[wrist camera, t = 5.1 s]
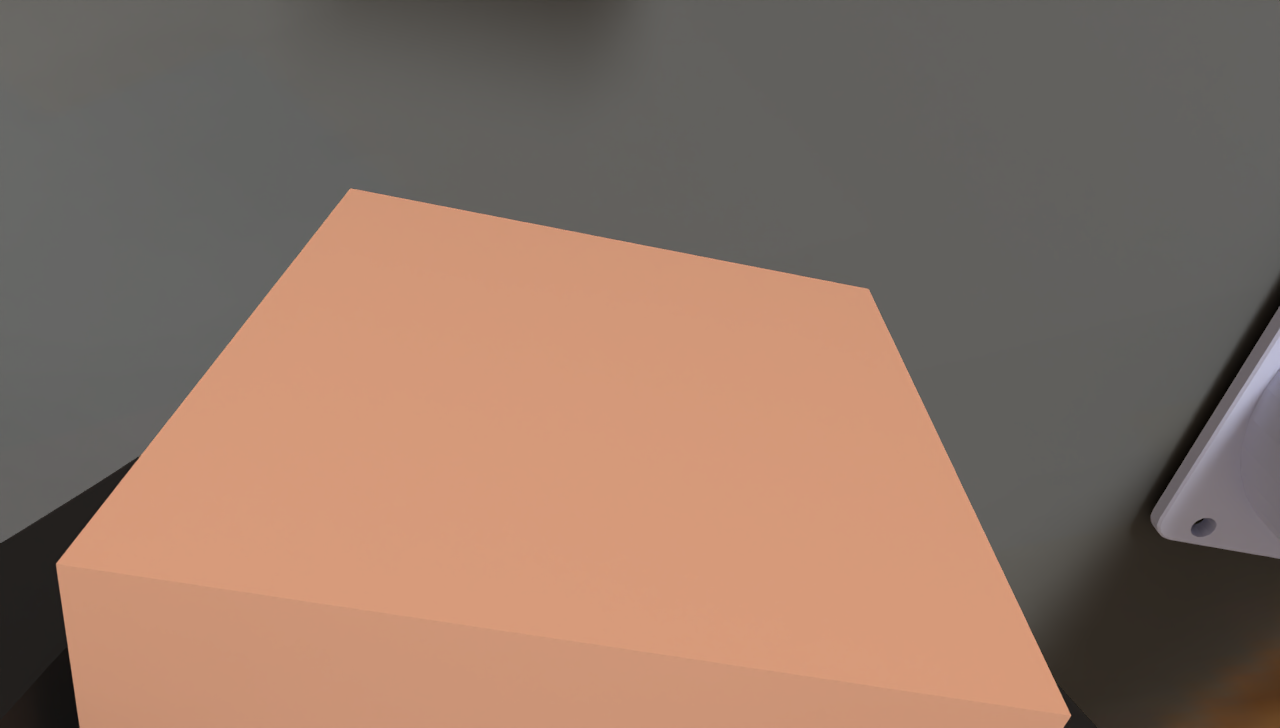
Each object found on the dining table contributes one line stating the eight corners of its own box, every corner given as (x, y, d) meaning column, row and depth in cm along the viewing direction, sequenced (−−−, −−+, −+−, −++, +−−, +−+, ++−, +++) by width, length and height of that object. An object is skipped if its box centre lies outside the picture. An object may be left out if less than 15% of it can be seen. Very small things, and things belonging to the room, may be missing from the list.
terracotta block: (868, 289, 9) (1071, 717, 5) (737, 644, 12) (792, 1136, 7) (351, 188, 9) (55, 562, 4) (329, 582, 11) (130, 1072, 7)
